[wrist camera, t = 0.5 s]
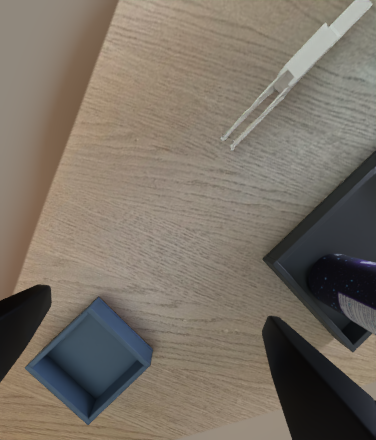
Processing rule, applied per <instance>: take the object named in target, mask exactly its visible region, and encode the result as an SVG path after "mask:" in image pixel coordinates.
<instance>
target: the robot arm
mask: <svg viewBox="0 0 376 440" xmlns="http://www.w3.org/2000/svg"><path fill="white" fill-rule="evenodd" d="M51 303H52V300H51V287H50V286H48V285H41V284H38V285H35V286H33V287H31V288H29V289H26V290H24V291H22V292H19V293H17V294H15V295H12V296H10V297H8V298H5V299H3V300H1V301H0V382H1V381H2V379H3V378H4V377H5V375H6V374H7V373H8V371H9V370H10V369H11V367H12V366H13V365H14V363H15V362H16V360H17V359H18V358H19V356H20V355H21V354H22V352H23V351H24V349H25V348H26V346H27V345H28V343H29V342H30V340H31V338H32V337H33V335H34V333H35V332H36V330H37V329H38V327H39V325H40V324H41V322H42V320H43V319H44V317H45V315H46V314H47V312H48V310H49V309H50V307H51ZM262 336H263V341H264V345H265V349H266V354H267V358H268V362H269V367H270V371H271V375H272V378H273V382H274V385H275V388H276V391H277V394H278V397H279V400H280V403H281V406H282V410H283V413H284V416H285V419H286V422H287V425H288V428H289V431H290V434H291V437H292V440H376V401H375V400H373V398H372V397H371V396H370V395H369V394H367V393H366V392H365V391H364V390H363V389H362V388H361V387H359V386H358V385H357V384H356V383H355V382H354V381H352V380H351V379H350V378H349V377H348V376H347V375H346V374H344V373H343V372H342V371H341V370H340V369H339V368H337V367H336V366H335V365H334V364H333V363H332V362H330V361H329V360H328V359H327V358H326V357H325V356H324V355H322V354H321V353H320V352H319V351H318V350H317V349H315V348H314V347H313V346H312V345H311V344H310V343H308V342H307V341H306V340H305V339H304V338H303V337H302V336H300V335H299V334H298V333H297V332H296V331H295V330H293V329H292V328H291V327H290V326H289V325H288V324H287V323H285V322H284V321H283V320H282V319H281V318H279V317H277V316H268V317H267V320H266V322H265V325H264V327H263V330H262Z"/></svg>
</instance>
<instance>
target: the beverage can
mask: <svg viewBox="0 0 376 440" xmlns="http://www.w3.org/2000/svg"><path fill="white" fill-rule="evenodd" d="M309 286H310V289H311V292H312V293H313V295H314V296H315V297H316V298H317V299H318V300H319V301H321V302H322V303H324V304H326V305H327V306H329V307H331V308H332V309H334V310H335V311H337V312H339V313H340V314H342V315H344V316H345V317H347V318H349V319H350V320H352V321H353V322H355V323H357V324H358V325H360V326H362V327H363V328H365V329H366V330H368V331H370V332H371V333H373V334H375V335H376V263H374V262H370V261H366V260H362V259H358V258H354V257H350V256H346V255H342V254H338V253H332V254H327V255H325V256H323V257H321V258H320V259H318V260H317V261H316V262H315V264H314V265H313V267H312V269H311V271H310V275H309Z"/></svg>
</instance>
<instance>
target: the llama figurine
mask: <svg viewBox="0 0 376 440" xmlns="http://www.w3.org/2000/svg"><path fill="white" fill-rule="evenodd" d="M372 5H373V4H372V3H371V2H370V0H355V1H354V2H353V3H352V4H351V5H350V6H349V7H348V8H347V9H346V10H345V11H344V12H343V13H342V14H341V15H340V16H339V17H338V18H337V19H336V20H335V21H334V22H333V23H332V24H331V25H330V26H328V25H327V24H326V23H324V24H323V25H322V26H321V28H320V29H319V30H318V31H317V32H316V33H315V34H314V35H313V36H312V37H311V38H310V39H309V40H308V41H307V42H306V43H305V44H304V46H303V47H302V48H301V49H300V50H299V51H298V52H297V53H296V54H295V55H294V56H293V57H292V58H291V59H290V60H289V61H288V62H287V64H286V65H285V66H284V67H283V68H282V70H281V71H280V72H279V74H278V76H277V78H276V79H275V80H274V81H273V82H272V83H271V84H270V85H269V86H268V87H267V88H266V89H265V90H264V91H263V93H262V94H261V95H260V96H259V97H258V98H257V99H256V101H255V102H254V103H253V105H252V106H251V107H250V108H249V109H248V110H246V111H245V112H244V113H243V114H242V115H241V117H240V118H239V119H238V120H237V121H236V122H235V123H234V124H233V126H232V127H231V128H230V129H229V130H228V131H227V132H226V133H225V135H224V134H223V135H224V136H222V137H220V139H221V141H223V140H225V141H226V139H227V137H229V134H230V133H231V132H232V131H233V130H234V129H235V128H236V127H237V126H238V125H239V124H240V123H241V122H242V121H243V120H244V119H245V118H246V117H247V116H248V115H249V114H250V113H251V112H252V111H253V110H254V109H255V108H256V107H257V106H258V105H259V104H260V103H261V102H262V101H263V100H264V99H265V98H266V97H267V96H268V95H270V94H272V93H274V92H275V90H277V91H278V92H279V93H280V94H279V95H278V96H277V97H276V99H275V100H274V101H273V102H272V103H271V104H270V105H269V106H268V107H267V108H266V110H265V111H264V112H263V113H262V114H261V115H260V116H259V117H258V118H256V119H255V120H254V121H253V122H252V123H251V124H250V125H249V126H248V127H247V129H246V130H245V131H244V132H243V133H242V134H241V135H240V136H239V137H238V138H237V139H236V140H235V141H234V142H233V141H232V142H233V144H230V149H231V151H233V149H234V148H236V145H237V144H238V143H239V142H240V141H241V140H242V139H243V138H244V137H245V136H246V135H247V134H248V133H249V132H250V131H251V130H252V129H253V128H254V127H255V126H256V125H257V124H258V123H259V122H260V121H261V120H262V119H263V118H264V117H265V116H266V115H267V114H268V113H269V112H270V111H271V110H272V109H273V108H274V107H275V106H276V105H277V104H278V103H279V102H280V101H281V100H282V99H284V98H285V96H286V94H287V93H288V91H289V90H290V89H291V88H292V87H293V86H294V85H295V84H296V83H297V82H298V81H299V80H300V79H301V78H302V77H303V76H304V75H305V74H306V73H307V72H308V71H309V70H310V69H311V68H312V67H313V66H314V65H315V64H316V62H317V61H318V60H319V59H320V58H321V57H322V56H323V55H324V54H325V53H326V52H327V51H328V50H329V49H330V48H331V47H332V46H333V45H334V44H335V43H336V42H337V41H338V40H339V39H340V38H341V37H342V36H343V35H344V34H345V33H346V32H347V31H348V30H349V29H350V28H351V27H352V26H353V25H354V24H355V23H356V22H357V21H358V20H359V19H360V17H361V16H362V15H363V14H364V13H365V12H366V11H367V10H368V9H369V8H370V7H371V6H372Z"/></svg>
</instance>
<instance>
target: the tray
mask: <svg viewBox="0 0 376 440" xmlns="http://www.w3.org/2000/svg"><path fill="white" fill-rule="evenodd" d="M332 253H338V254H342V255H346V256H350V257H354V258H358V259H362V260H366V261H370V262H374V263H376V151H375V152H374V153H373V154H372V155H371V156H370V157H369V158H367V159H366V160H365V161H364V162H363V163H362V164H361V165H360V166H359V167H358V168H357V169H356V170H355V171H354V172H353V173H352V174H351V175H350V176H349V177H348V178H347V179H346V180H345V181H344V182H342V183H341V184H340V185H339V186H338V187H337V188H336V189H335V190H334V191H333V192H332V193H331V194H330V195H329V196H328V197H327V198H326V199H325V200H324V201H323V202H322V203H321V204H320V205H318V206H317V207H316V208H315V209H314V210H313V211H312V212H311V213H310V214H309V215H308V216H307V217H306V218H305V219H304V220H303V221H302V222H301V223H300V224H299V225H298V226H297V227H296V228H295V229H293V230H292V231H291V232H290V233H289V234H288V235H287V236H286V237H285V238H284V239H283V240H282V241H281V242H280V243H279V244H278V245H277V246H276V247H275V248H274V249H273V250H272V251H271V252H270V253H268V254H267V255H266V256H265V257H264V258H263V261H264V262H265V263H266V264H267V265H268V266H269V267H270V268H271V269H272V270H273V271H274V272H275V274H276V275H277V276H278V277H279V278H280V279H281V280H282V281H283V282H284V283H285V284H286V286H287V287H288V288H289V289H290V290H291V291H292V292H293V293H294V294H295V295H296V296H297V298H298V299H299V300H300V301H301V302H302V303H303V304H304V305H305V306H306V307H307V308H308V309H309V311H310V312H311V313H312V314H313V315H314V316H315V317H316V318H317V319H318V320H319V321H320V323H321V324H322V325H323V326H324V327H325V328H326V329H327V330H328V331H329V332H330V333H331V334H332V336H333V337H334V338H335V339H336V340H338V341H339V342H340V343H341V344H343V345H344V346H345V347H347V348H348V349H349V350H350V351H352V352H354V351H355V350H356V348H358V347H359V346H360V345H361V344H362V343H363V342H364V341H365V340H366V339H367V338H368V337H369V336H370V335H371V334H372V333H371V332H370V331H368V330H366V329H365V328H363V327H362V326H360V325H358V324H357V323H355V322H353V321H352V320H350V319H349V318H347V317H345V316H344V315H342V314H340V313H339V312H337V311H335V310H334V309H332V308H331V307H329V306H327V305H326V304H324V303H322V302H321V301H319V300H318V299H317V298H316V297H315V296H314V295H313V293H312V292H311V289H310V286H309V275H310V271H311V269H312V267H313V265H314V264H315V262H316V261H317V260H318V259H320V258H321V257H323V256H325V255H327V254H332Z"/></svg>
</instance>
